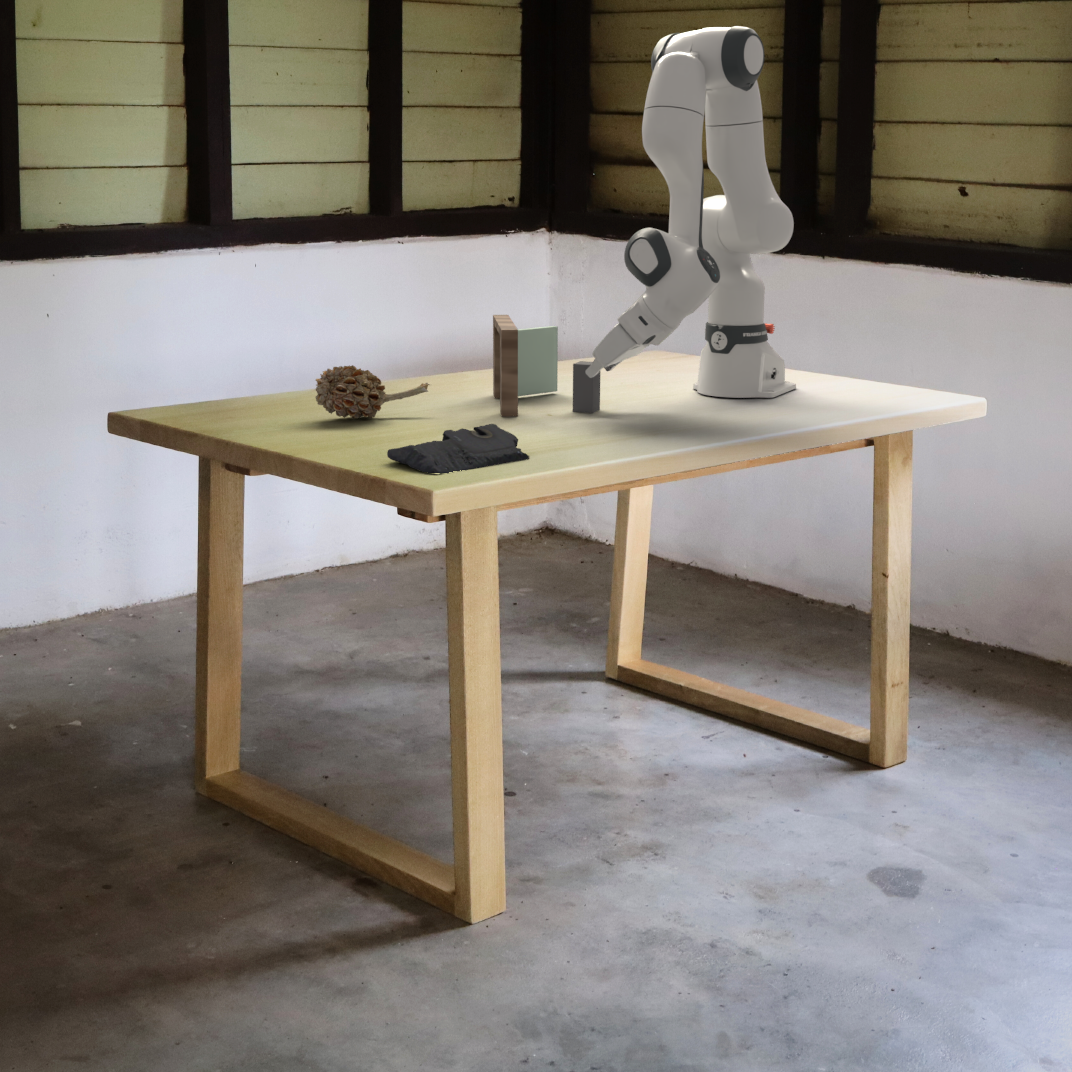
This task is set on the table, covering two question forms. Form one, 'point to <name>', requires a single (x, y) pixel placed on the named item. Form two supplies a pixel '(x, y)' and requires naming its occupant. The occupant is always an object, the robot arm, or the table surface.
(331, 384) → the dried seed pod
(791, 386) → the robot arm
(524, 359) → the door
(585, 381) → the gray rectangular block
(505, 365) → the door frame
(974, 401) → the table surface
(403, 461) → the dark slate chunk
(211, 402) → the table surface
